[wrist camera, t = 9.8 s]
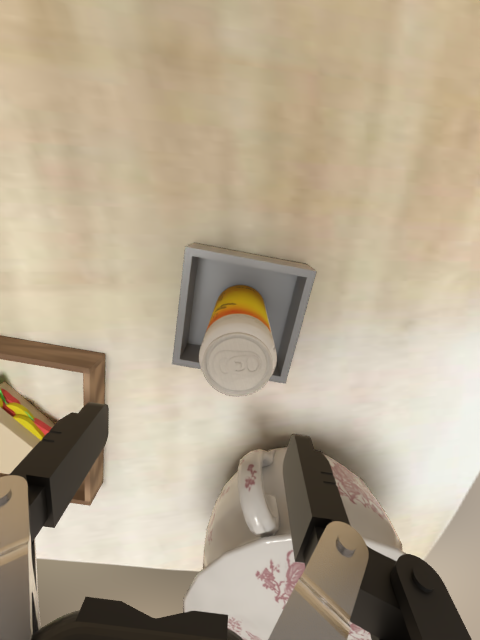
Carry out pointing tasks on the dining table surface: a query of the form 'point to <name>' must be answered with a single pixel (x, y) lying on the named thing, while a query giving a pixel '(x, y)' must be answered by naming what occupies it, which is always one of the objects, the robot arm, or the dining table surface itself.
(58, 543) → the dining table surface
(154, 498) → the dining table surface
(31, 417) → the sandwich
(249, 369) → the beer can
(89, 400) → the serving board rim
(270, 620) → the chamber pot
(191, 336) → the box
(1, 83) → the dining table surface
